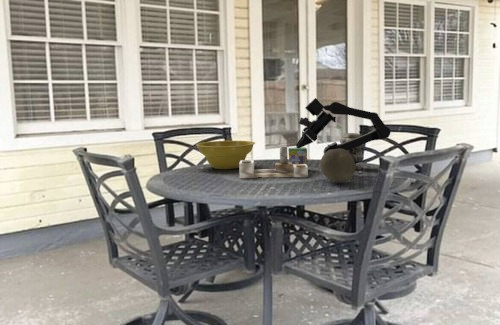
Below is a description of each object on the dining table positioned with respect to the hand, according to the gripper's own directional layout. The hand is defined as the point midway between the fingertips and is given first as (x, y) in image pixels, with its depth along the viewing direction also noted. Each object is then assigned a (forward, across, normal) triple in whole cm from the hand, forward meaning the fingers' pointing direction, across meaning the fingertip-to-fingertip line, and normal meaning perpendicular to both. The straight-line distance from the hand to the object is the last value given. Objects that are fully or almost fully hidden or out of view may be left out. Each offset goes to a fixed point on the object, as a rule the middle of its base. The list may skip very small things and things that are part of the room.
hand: (297, 146), depth 243 cm
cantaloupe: (-1, +26, +21) cm, 34 cm away
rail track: (+18, 0, +1) cm, 18 cm away
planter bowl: (+36, -33, -16) cm, 51 cm away
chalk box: (+9, -16, +10) cm, 22 cm away
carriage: (+12, 0, +3) cm, 12 cm away
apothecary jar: (-10, -18, +30) cm, 36 cm away
